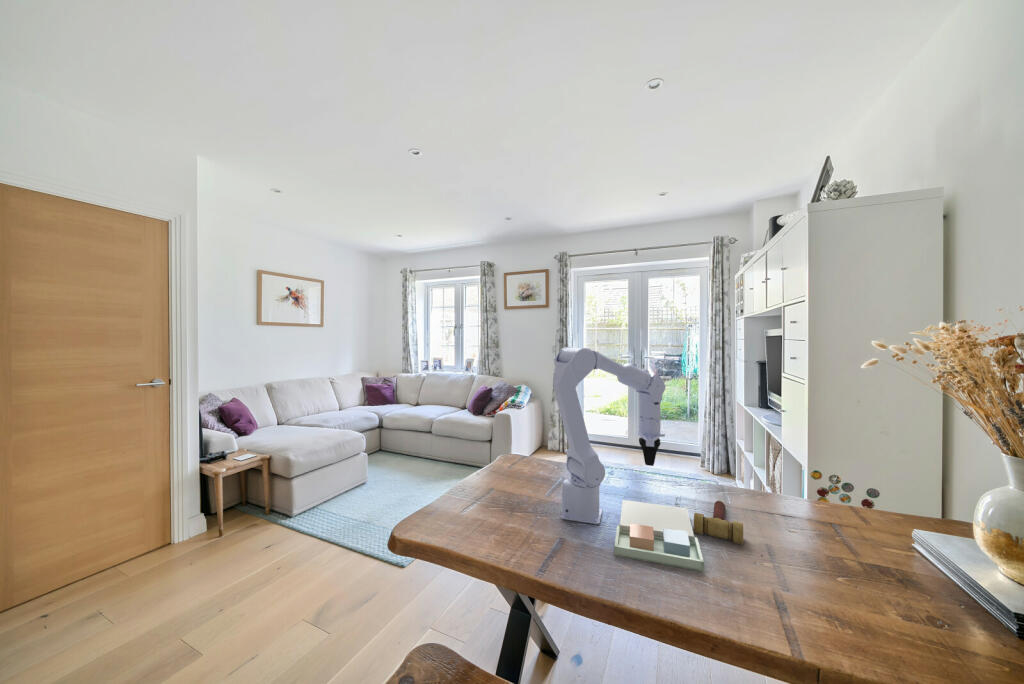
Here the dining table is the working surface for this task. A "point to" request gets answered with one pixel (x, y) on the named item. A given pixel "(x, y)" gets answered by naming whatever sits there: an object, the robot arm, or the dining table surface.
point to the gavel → (718, 525)
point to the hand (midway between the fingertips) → (649, 464)
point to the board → (655, 517)
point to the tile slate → (676, 542)
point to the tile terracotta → (641, 537)
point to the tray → (658, 552)
